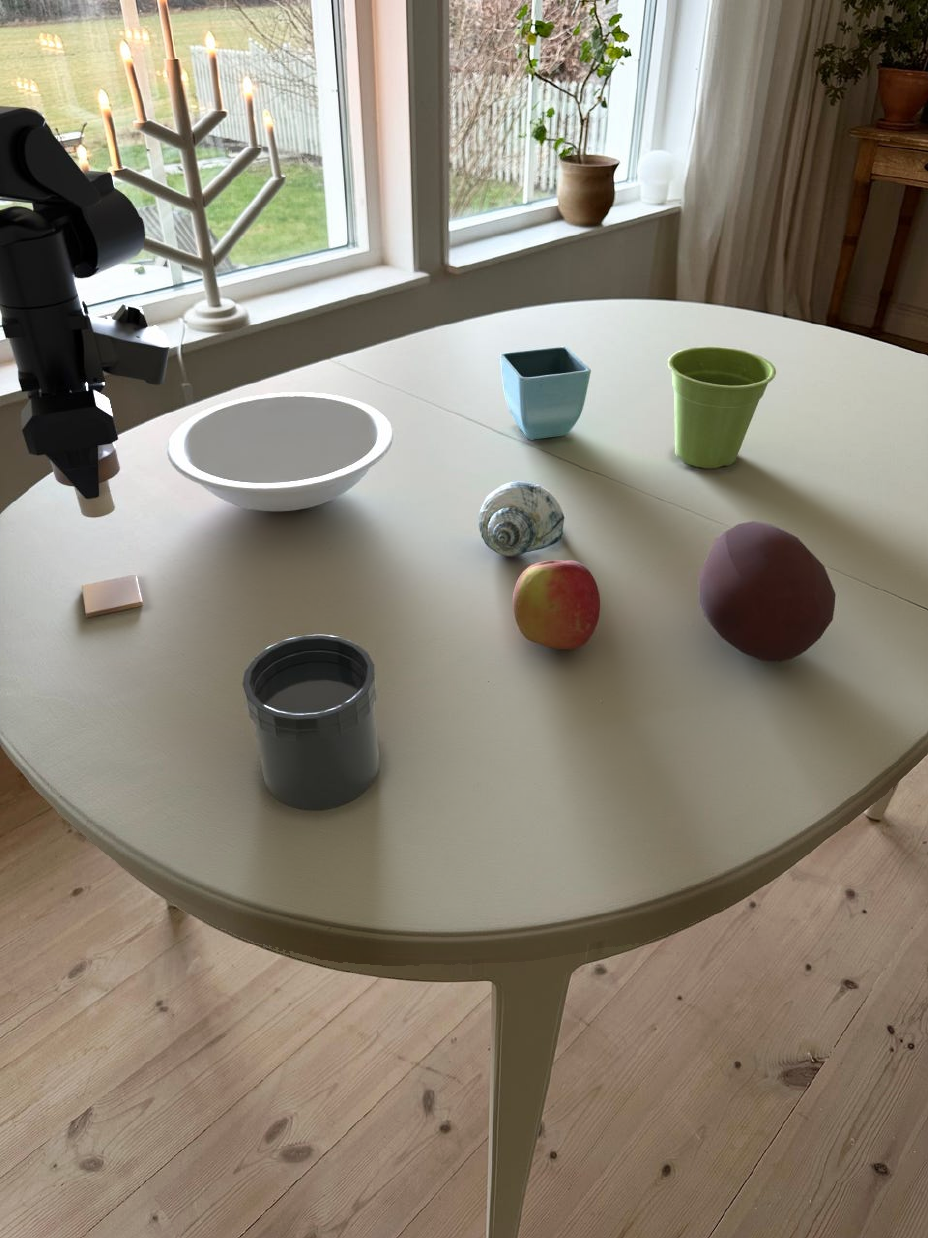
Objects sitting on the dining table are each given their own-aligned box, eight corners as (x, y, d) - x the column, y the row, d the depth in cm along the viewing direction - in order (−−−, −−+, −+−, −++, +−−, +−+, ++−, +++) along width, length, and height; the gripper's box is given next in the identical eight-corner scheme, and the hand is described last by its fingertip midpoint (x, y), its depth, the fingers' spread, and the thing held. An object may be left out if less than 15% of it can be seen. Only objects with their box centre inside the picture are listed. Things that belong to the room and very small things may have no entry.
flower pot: (497, 420, 118) (498, 352, 113) (562, 412, 120) (566, 345, 115) (518, 449, 111) (520, 378, 106) (586, 441, 113) (592, 370, 108)
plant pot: (666, 480, 105) (679, 386, 98) (647, 435, 115) (659, 346, 108) (769, 479, 105) (790, 385, 98) (742, 434, 115) (759, 345, 108)
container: (276, 827, 64) (258, 733, 59) (249, 743, 71) (231, 652, 66) (398, 790, 67) (392, 697, 62) (361, 713, 74) (352, 623, 68)
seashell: (573, 544, 97) (488, 585, 90) (530, 494, 99) (444, 531, 93) (597, 505, 92) (509, 546, 85) (551, 454, 94) (462, 489, 88)
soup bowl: (299, 572, 90) (292, 513, 86) (131, 506, 100) (117, 451, 97) (437, 474, 106) (435, 421, 102) (279, 427, 117) (273, 376, 113)
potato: (712, 695, 75) (734, 591, 69) (672, 602, 86) (687, 504, 80) (844, 689, 76) (878, 585, 70) (788, 597, 86) (813, 499, 80)
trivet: (86, 618, 84) (85, 613, 84) (82, 589, 88) (81, 584, 87) (143, 605, 86) (142, 601, 85) (136, 578, 89) (135, 573, 89)
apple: (608, 625, 83) (617, 550, 78) (581, 679, 77) (588, 601, 72) (529, 606, 85) (533, 531, 81) (496, 656, 79) (498, 579, 75)
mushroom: (68, 529, 77) (50, 469, 73) (64, 501, 81) (47, 442, 77) (132, 517, 78) (117, 458, 75) (126, 490, 82) (111, 432, 79)
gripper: (166, 321, 64) (205, 516, 73) (136, 252, 78) (171, 424, 87) (-7, 343, 61) (56, 544, 70) (-6, 267, 75) (46, 444, 84)
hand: (90, 483), depth 78 cm, fingers closed on mushroom, 5 cm apart
